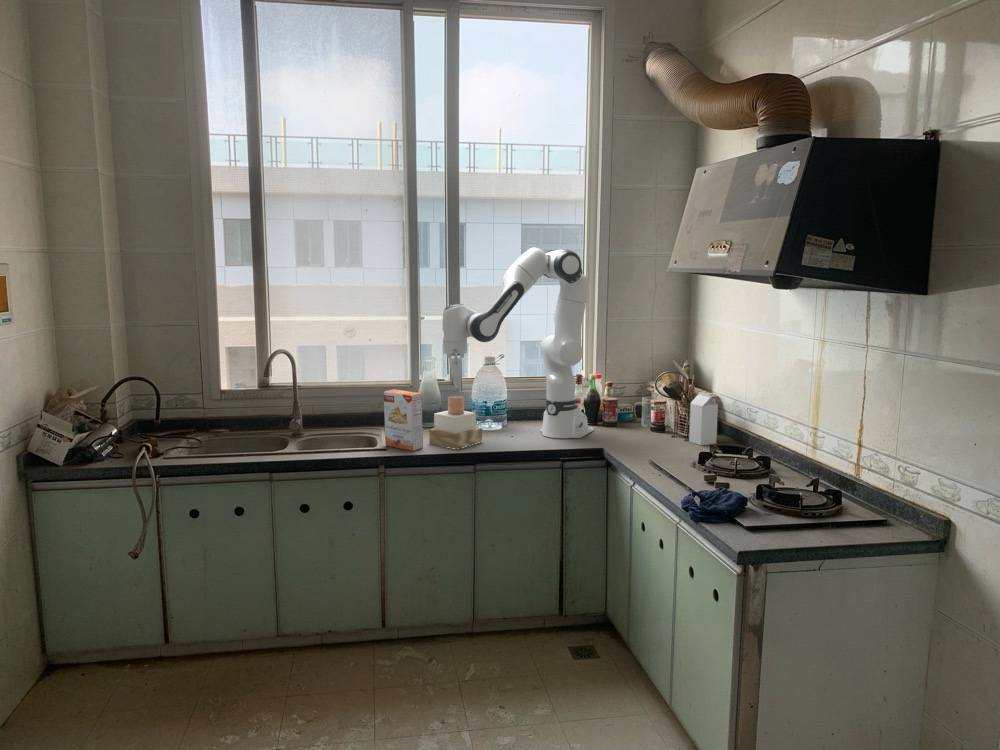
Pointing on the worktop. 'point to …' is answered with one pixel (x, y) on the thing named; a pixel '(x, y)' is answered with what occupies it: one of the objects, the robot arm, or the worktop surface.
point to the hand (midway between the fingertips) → (456, 385)
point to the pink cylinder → (455, 405)
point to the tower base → (455, 438)
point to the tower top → (454, 422)
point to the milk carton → (703, 420)
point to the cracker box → (403, 419)
